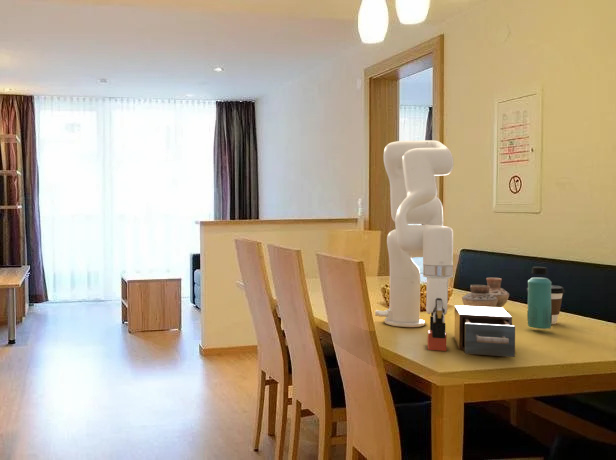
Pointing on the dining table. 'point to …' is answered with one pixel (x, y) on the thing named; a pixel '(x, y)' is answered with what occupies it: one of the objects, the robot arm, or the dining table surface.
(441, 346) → the block
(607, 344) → the dining table surface
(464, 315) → the cabinet
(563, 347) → the dining table surface
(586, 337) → the dining table surface
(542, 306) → the beverage bottle
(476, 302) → the pottery
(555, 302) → the coffee cup
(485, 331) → the drawer
